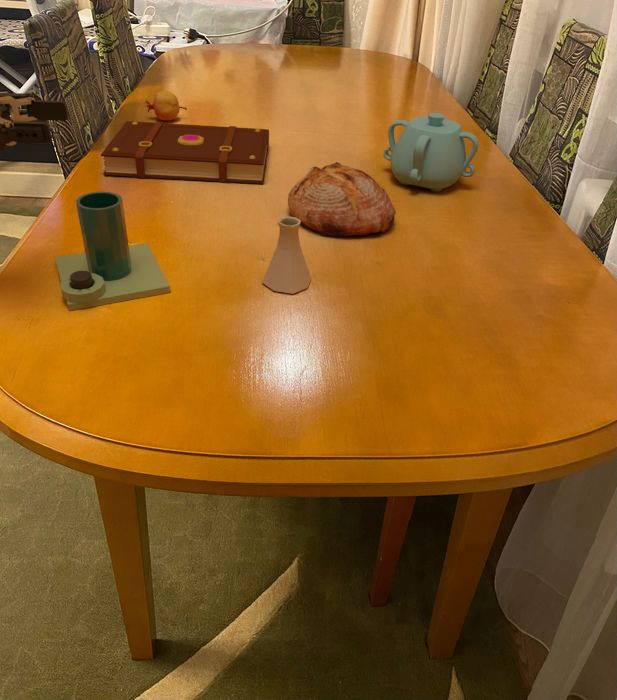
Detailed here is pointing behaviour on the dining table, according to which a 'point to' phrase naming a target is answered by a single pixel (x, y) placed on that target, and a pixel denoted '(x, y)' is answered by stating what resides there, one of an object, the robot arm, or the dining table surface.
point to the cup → (104, 234)
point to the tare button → (81, 280)
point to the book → (188, 152)
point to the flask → (288, 260)
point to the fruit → (165, 105)
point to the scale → (137, 284)
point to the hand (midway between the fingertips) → (59, 121)
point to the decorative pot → (430, 152)
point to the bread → (341, 202)
